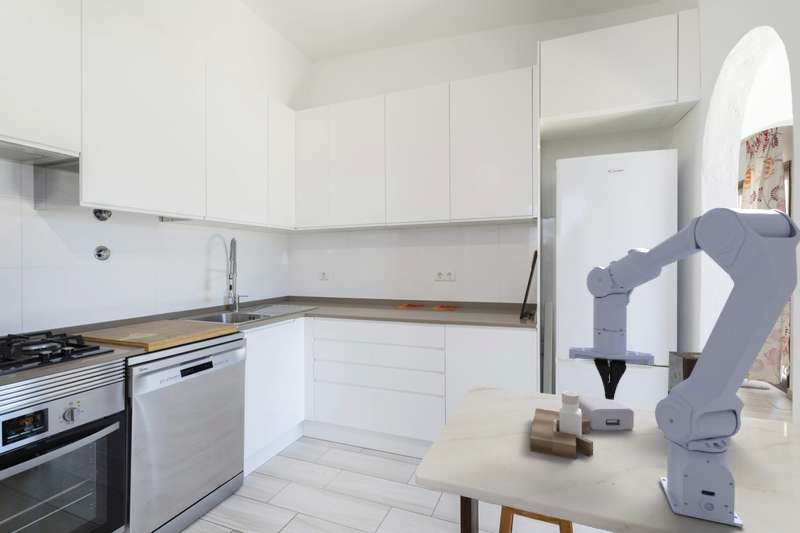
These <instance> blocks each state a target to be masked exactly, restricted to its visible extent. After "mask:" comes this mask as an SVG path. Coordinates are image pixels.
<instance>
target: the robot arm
mask: <svg viewBox="0 0 800 533" xmlns="http://www.w3.org/2000/svg"><path fill="white" fill-rule="evenodd" d="M799 243H800V229H799V227H798V225H797V224H796V223H795V222H794V220H793V219H792V218H791V216H790V215H789V214H788V213H786V212H785V211H782V210H780V209H776V208H765V209H750V208H749V209H748V208H746V209H745V208H730V207H725V206H724V207H723V206H718V207H714V208H711V209H709V210H707V211H706V212H704V213H703V214H702V215H699V216H696V217H693V218H692V219H691V221H690V222H689V225H687V226H685V227H684V228H682V229H681V230H679V231H678V232H676V233H675V234H673V235H671V236H669V237H668V238H666V239H665V240H663V241H662V242H660V243H658V244H657V245H656V246H653V247H652V248H650V249H645V248H631V249H629V250H627V254H626V255H625V256H623V257H621V258H620V259H617V260H612V261H611V262H609V265H608V266H606V267H603V266H594V267H593V268H592V269H591V270H590V271H589V273H588V274H587V278H586V286H587V287H586V288H587V291H588V292H589V293H590V294H591V295H592V296H593V306H592V307H593V323H592V324H593V328H592V329H593V330H592V331H593V336H592V337H593V340H592V342H593V347H573V346H572V347H571V346H569V347H568V350H569V351H568V357H569V359H571V360H575V359H582V360H592V361H593V362H594V365H595V368H596V369H597V372H598V374H599V376H600V379H601V382H602V386H603V391H604V395H605V398H606V399H610V400H614V399H615V396H616V392H617V389H618V385H619V383H620V381H621V378H622V377H623V375H624V374H625V373H626V371H627V364H629V363H630V364H639V365H647V366H653V367H654V366H655V355H654V354H653V353H652V352H651V353H650V352H640V351H633V350H627V339H628V338H627V336H628V335H627V333H628V332H627V327H628V326H627V322H628V321H627V319H628V318H627V317H628V316H627V310H628V308H627V307H628V306H629V304H630V297H631V295H632V294H633V292H634V289H635V288H637V287H640V286H641V285H644V284H646V283H649V282H650V281H653V280H655V279H657V278H658V277H660V275H661V273H662V268H663V267H666V266H669V265H671V264H673V263H676V262H678V261H681V260H683V259H686V258H688V257H690V256H693V255H695V254H698V253H700V252H702V251H703V252H704V253H705V254H706V255H708V257H709V258H710V259H712V261H714V262H715V263H716V264H717V265H718V267H720V268H721V269H722V270H723V271H724V272H725V273H726V274H727V275H729V277H730V279H731V280H732V282H733V287H732V289H731V291H730V292H729V295H728V296H727V297H728V298H727V299H726V302H725V303H724V306H723V307H722V310H721V311H720V314H719V315H718V317H717V320H716V321H715V324H714V326H713V328H712V330H711V333H710V334H709V337H708V339H707V340H706V342H705V344H704V346H703V348H702V350H701V352H700V353H701V355H700V357H699V359H698V361H697V363H696V365H695V367H694V369H693V371H692V373H691V375H690V377H689V378H687V379H686V380H684V381H683V382H681V383H680V384H678V385H677V386H675V387H674V388H672V389H671V391H670V393H669V395H668V394H667V395H666V397H665V398H663V399H660V400H659V401H658V402H657V404H656V405H655V409H654V416H655V420H656V424H657V426H658V428H659V429H660V431H661V432H662V434H663V437H664V438H666V439H667V447H666V448H667V457H666V458H667V462H666V463H667V464H666V467H667V468H666V470H667V471H666V473H667V474H666V476H667V477H664V476H660V477H659V482H660V484H661V486H662V488H663V491H664V494H665V495H666V498H667V500H668V502H669V504H670V507H671V509H672V511H673V512H674V513H675V514H678V515H681V516H687V517H692V518H697V519H701V520H706V521H711V522H717V523H721V524H724V525H730V526H735V527H740V528H742V527H744V523H743V521H742V520H741V518H740V516H739V515H738V514H737V512H736V511H735V497H736V496H735V492H736V491H735V487H736V485H735V484H736V483H735V482H736V481H735V478H734V476H733V473H732V472H731V470H730V469H729V467H728V446H730V445H731V438H732V437H734V436H735V435H736V434H738V433H739V431H740V429H741V424H742V421H741V413H742V410H743V409H744V406H745V402H744V401H743V400H742V399H741V397H740V396H739V395H738V394H737V393H738V391H739V389H740V388H741V386H742V384H743V383H744V380H745V379H746V377H747V375H748V373H749V372H750V370H751V368H752V366H753V365H754V363H755V361H756V359H757V358H758V355H759V354H760V352H761V350H762V349H763V347H764V345H765V343H766V341H767V340H768V338H769V336H770V334H771V332H772V331H773V329H774V327H775V326H776V323H777V322H778V320H779V318H780V316H781V315H782V313H783V311H784V310H785V308H786V306H787V303H788V302H789V300H790V299H791V297H792V296H793V293H794V292H795V290H796V287H797V285H798V284H797V283H798V268H797V265H798V264H797V263H798V262H797V246H798V244H799Z"/></svg>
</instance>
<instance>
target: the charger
mask: <svg viewBox="0 0 800 533" xmlns="http://www.w3.org/2000/svg"><path fill="white" fill-rule="evenodd" d="M578 394H579V393H578ZM579 409H581V414H582V420H583V419H587V420H589V421H590V429H591V430H592V431H611V430H612V431H618V430H619V431H621V430H622V429H631V430H633V429H634V426H635V425H634V424H635V421H634V420H635V416H634V415H635V412H634V411H633V409H631V408H629V407H628V406H626V405H624V404H623V403H621V402H620V401H618V400H616V399H615V398H614V400H610V399H606V398H605V394H584V393H583V394H579Z"/></svg>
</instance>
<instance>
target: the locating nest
mask: <svg viewBox="0 0 800 533" xmlns="http://www.w3.org/2000/svg"><path fill="white" fill-rule="evenodd" d="M590 432H591V428H590V421H589V420H587V419H583V420H582V435H583V434H590ZM529 451H530V452H533V453H538V454H539V453H540V454H543V455H544V454H545V455H551V456H557V457H562V458H567V459H574V460H577V452H579V453H581V454H584V455H587V456H589V457H591V456H593V455H594V441H593V440H590V439H588V438H585V437H581V436H578V435H576V434H570V433H564V432H560V411H556V410H548V409H543V408H542V409H541V408H535V411H534V416H533V422H532V428H531V433H530V437H529Z"/></svg>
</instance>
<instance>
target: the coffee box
mask: <svg viewBox="0 0 800 533" xmlns="http://www.w3.org/2000/svg"><path fill="white" fill-rule="evenodd" d="M700 355H701V352H698V351H697V352H696V351H695V352H694V351H693V352H692V351H671V350H669V351H668V372H667V373H668V374H667V375H668V376H667V377H668V378H667V382H668V383H667V384H668V385H667V396H668V395H669V393H670V391H671V389H672V388H674V387H675V386H677V385H678V384H680V383H681V382H683V381H684V380H686V379H687V378H689V377H690V375H691V373H692V371H693V369H694V367H695V365H696V363H697V361H698V359H699V357H700Z"/></svg>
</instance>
